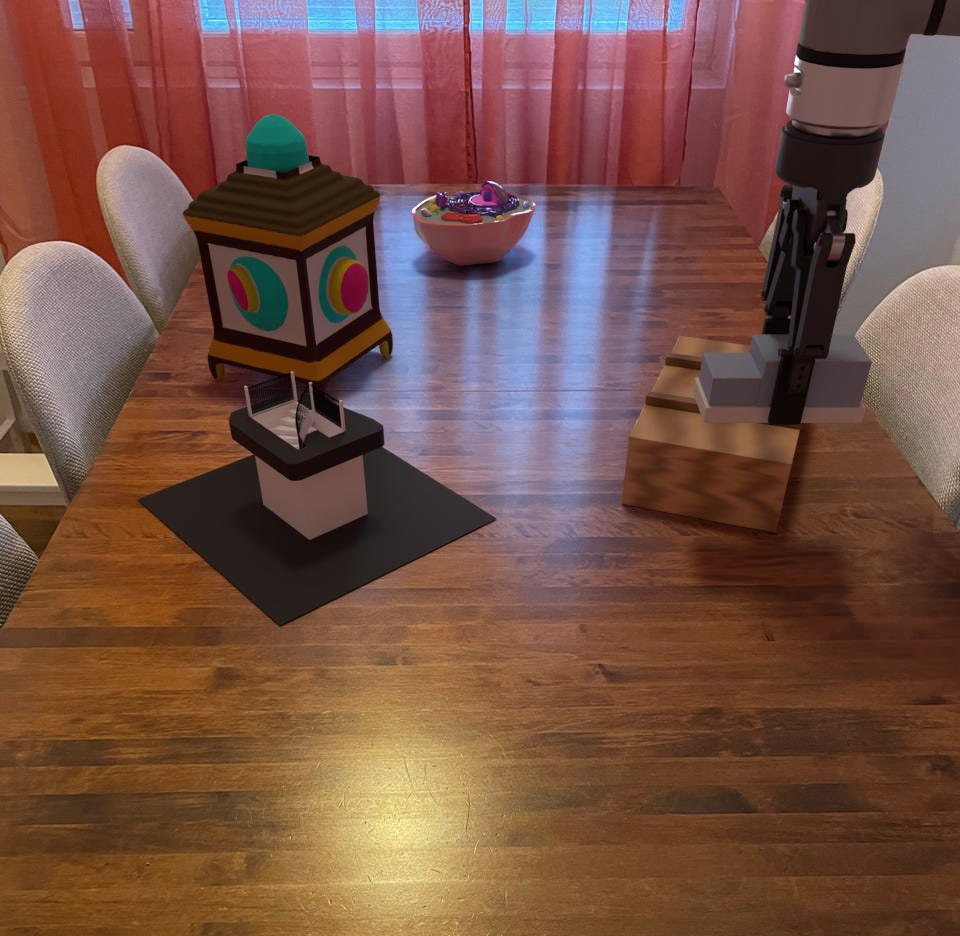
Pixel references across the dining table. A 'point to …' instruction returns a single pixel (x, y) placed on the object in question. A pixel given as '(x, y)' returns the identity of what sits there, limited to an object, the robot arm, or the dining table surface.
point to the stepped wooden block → (705, 452)
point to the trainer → (752, 376)
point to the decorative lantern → (289, 262)
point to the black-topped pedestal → (310, 504)
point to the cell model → (473, 223)
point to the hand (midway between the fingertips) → (775, 404)
